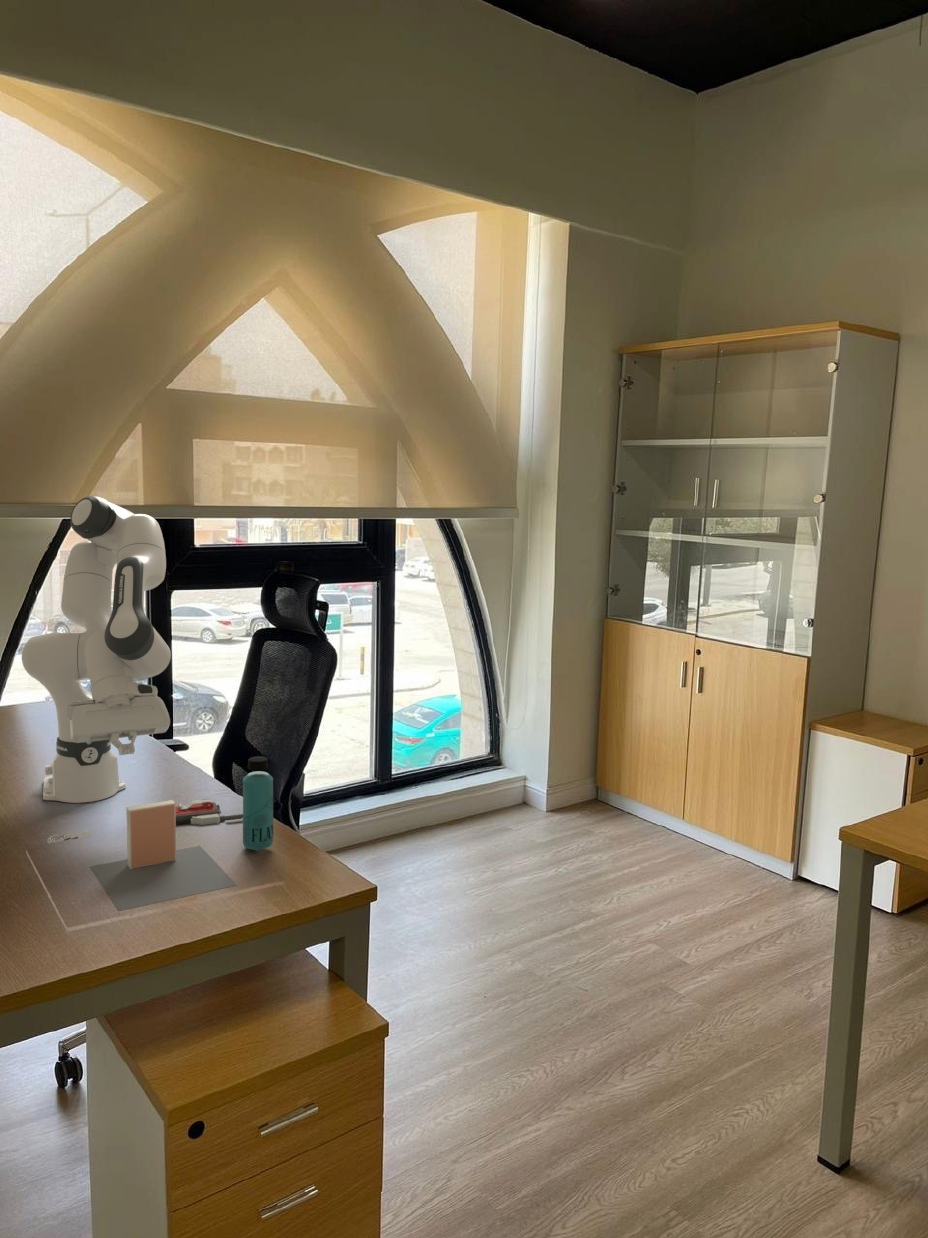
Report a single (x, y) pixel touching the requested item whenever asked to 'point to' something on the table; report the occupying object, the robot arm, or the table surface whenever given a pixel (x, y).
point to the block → (151, 834)
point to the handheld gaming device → (68, 836)
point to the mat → (161, 879)
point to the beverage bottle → (258, 805)
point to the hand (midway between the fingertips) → (127, 753)
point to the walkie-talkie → (201, 813)
